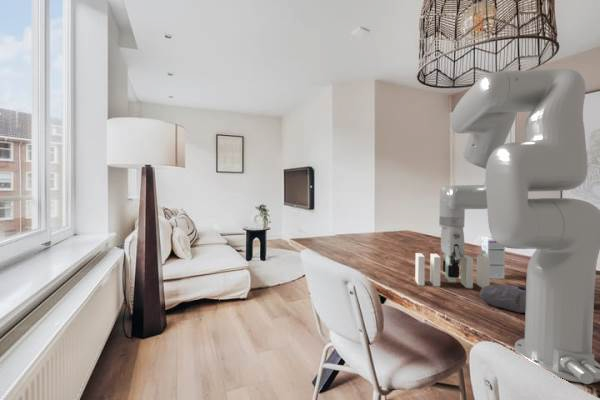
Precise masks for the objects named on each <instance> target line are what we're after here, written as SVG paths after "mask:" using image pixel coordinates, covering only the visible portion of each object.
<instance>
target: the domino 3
mask: <svg viewBox="0 0 600 400" xmlns="http://www.w3.org/2000/svg"><path fill="white" fill-rule="evenodd" d="M452 256H455V255H452ZM453 259H454V258H452V260H453ZM444 261H445V272H444V277H445V279H446V280H447V281H448V282H449V283H457V278H451V277H448V265H449V256H447V255H446V258H445V260H444Z"/></svg>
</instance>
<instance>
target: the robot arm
mask: <svg viewBox="0 0 600 400" xmlns="http://www.w3.org/2000/svg"><path fill="white" fill-rule="evenodd" d="M585 97H586V82H585V79H584V77H583V75H582V74H580V73H579V72H578V71H577V70H574V69H571V68H550V69H549V68H547V69H525V70H524V69H523V70H500V71H493V72H489V73H486V74H484V75H482V76H481V77H480V78H479V79H478V80H477V81H475V82H474V84H473V85H472V86H471V87H470V88H469V89H468V90H467V91H466V93H464V95H463V96H462V97H461V98H460V99H459V101H458V102H457V104H456V105H455V107H454V110H453V112H452V113H451V119H450V126H451V129H452V131H453V132H454V133H456V134H468V135H469V136H468V138H467V141H466V144H465V147H464V150H463V152H462V154H463V155H462V156H463V158H464V159H465V161H467V162H468V163H470V164H471V165H474V166H477V167H479V168H482V169H485V181H484V183H483V184H467V185H466V184H465V185H464V184H460V185H444V186H442V187H441V188H440V189H439V226H440V227H441V230H440V231H441V233H440V250H441V252H442V272H444V273H445V258H446V255H447V256H449V265H448V277H451V278H456V279H458V278H460V263H461V257H464V256H465V255H466V254H465V253H466V252H465V232H464V228H465V213H466V210H486V209H487V220H488V221H487V222H488V228H489V233H490V235H491V237H493V239H494V240H495V241H496V242H497V243H498V244H499V245H501V246H503V247H505V249H506V248H507V249H511V250H512V249H514V250H515V249H517V250H534V252H533V253H532V255H531V257H530V258H529V261H528V264H527V268H526V281H525V282H526V284H525V287H526V310H525V313H524V315H525V316H524V317H525V318H524V319H525V320H524V338H521V339H519V340H517V341H516V342H515V343H514V351H515V354H516V353H517V354H519V355H521V356H523V357H524V358H526V359H528V360H529V361H531V362H533V363H535V364H537V365H539V366H541V367H543V368H545V369H546V370H548V371H550V372H552V373H554V374H555V375H557V376H559V377H561V378H563V379H562V380H565V381H569V382H574V383H583V384H586V385H589V384H593V383H599V382H600V363H599V362H597V360H595V356H596V355H595V354H593V352H592V350H593V331H594V330H593V329H594V310H595V309H594V307H595V289H596V287H595V286H596V272H597V266H598V265H597V264H598V259H599V254H600V209H599V208H598V207H597V206H596V205H594V204H593V203H591V202H588V201H585V200H583V199H576V198H571V197H570V198H569V197H568V198H566V197H545V198H544V197H543V198H529V192H531V193H532V192H562V191H563V192H564V191H569V190H573V189H576V188H578V187H580V186H582V185H583V183H585V181H586V178H587V176H588V167H589V166H588V154H587V152H588V151H587V144H586V143H587V142H586V133H585V131H586V130H585V125H584V124H585V123H584V107H585V106H584V105H585ZM526 112H527V113H528V112H530V113H529V114H528V117H527V118H526V121H525V125H524V135H525V136H524V137H525V141H519V142H518V141H515V142H508V143H506V140H507V139H508V136H509V135H510V131H511V130H512V128H513V125H514V123H515V120H516V118H517V114H518V113H526ZM452 255H455V256H452ZM452 258H454V259H453V260H452ZM517 354H516V355H517ZM561 378H560V379H561Z"/></svg>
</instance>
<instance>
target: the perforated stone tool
mask: <svg viewBox="0 0 600 400" xmlns="http://www.w3.org/2000/svg"><path fill="white" fill-rule="evenodd" d="M479 296H480V298H481V300H482V301H483V302H484V303H486V304H489V305H490V306H493V307H495V308H501V309H504V310H507V311H511V312H515V313H520V314H521V313H524V314H525V310H526V286H523V285H515V284H514V285H513V284H490V286H486V287H483V288H481V289H480V291H479Z"/></svg>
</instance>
